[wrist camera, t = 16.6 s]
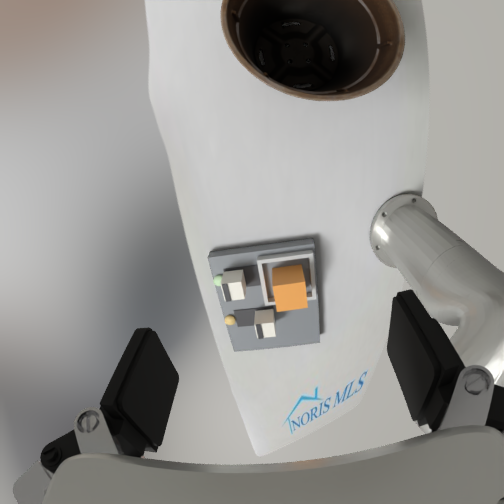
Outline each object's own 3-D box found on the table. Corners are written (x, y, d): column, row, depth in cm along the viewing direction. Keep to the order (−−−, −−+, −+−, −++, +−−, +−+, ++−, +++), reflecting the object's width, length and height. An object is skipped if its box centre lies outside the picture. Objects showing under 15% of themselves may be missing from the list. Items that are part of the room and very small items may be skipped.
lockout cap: (304, 288, 45) (307, 307, 41) (276, 292, 46) (277, 311, 41) (301, 264, 43) (305, 281, 39) (271, 268, 44) (272, 286, 40)
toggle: (246, 286, 45) (244, 299, 42) (227, 288, 45) (224, 301, 42) (242, 269, 44) (240, 282, 41) (223, 271, 44) (220, 284, 41)
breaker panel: (318, 335, 52) (320, 346, 49) (235, 344, 54) (233, 356, 51) (312, 238, 44) (315, 247, 41) (209, 252, 46) (206, 261, 43)
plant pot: (334, -2, 27) (366, -53, 13) (370, 95, 34) (426, 88, 19) (223, 21, 30) (198, -28, 15) (259, 121, 36) (254, 122, 22)
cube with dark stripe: (275, 322, 48) (275, 337, 45) (257, 324, 48) (257, 339, 45) (273, 308, 47) (273, 323, 44) (255, 310, 47) (254, 325, 44)
